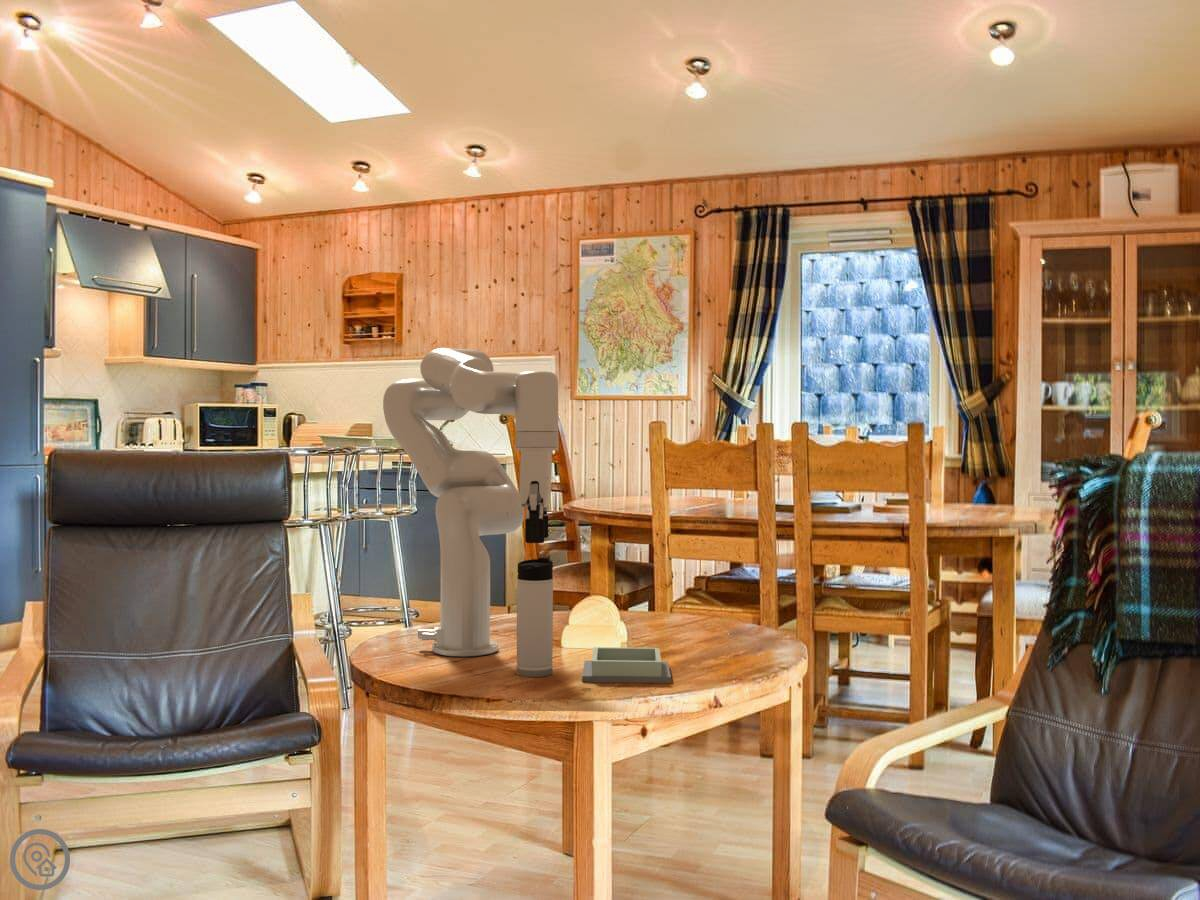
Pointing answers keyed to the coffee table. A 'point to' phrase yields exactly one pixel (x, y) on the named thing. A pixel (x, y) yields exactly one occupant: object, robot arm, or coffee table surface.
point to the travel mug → (535, 617)
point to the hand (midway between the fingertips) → (537, 540)
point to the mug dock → (626, 666)
